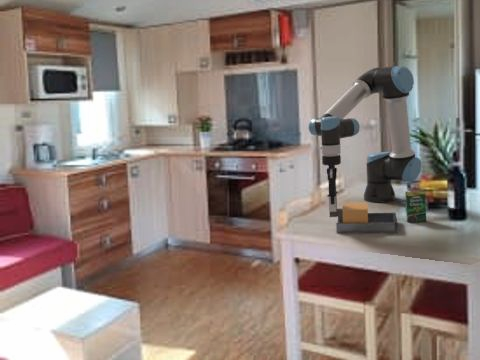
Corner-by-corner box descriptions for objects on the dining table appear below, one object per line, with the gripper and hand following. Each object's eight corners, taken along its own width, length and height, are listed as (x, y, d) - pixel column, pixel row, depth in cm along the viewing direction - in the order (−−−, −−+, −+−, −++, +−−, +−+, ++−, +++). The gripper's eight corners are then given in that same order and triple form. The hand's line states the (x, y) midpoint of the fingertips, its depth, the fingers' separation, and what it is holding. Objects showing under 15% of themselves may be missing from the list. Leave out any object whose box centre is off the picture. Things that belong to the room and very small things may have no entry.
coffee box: (406, 222, 237) (406, 192, 234) (405, 220, 239) (405, 190, 237) (426, 222, 235) (426, 191, 233) (425, 220, 238) (425, 190, 235)
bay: (336, 233, 229) (336, 223, 228) (338, 222, 244) (337, 213, 243) (397, 232, 223) (397, 223, 223) (395, 221, 239) (395, 212, 238)
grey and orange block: (329, 228, 231) (328, 191, 228) (330, 220, 242) (329, 185, 239) (368, 228, 227) (367, 190, 224) (367, 220, 239) (366, 184, 236)
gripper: (323, 152, 239) (325, 205, 244) (320, 158, 224) (322, 215, 228) (341, 151, 237) (343, 205, 242) (339, 157, 222) (341, 215, 227)
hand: (333, 210), depth 235 cm, fingers closed on grey and orange block, 3 cm apart
